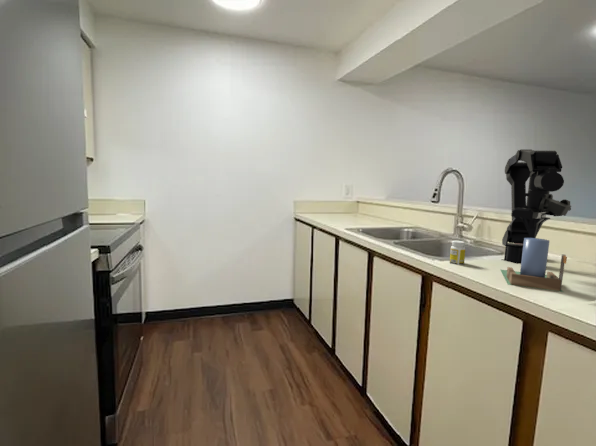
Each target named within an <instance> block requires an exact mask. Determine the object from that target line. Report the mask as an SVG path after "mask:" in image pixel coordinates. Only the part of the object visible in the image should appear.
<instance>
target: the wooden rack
mask: <svg viewBox="0 0 596 446" xmlns="http://www.w3.org/2000/svg"><path fill="white" fill-rule="evenodd" d="M567 259H568V256H566V254H561V258H560V267H559V273H558V274H559V275H558V276H557V275H556V274H555V273H554V272H552V271H546V273H547V274H546V275H547V278H545V277H536V276H528V275H520V274H516V273H515V271H516V270H514V269H513V267H511V266H510V267H509V266H508V267H507V269H506V270H507V278H508V280H509V282H510V284H511V285H510V286H514V285H517V286H516V287H521V286H524V287H523V288H529V287H532V288H531V289H536V288H540V289H539V290H544V289H547V290H546V291H551V290H555V291H554V292H559V291H561V290H562V287H563V286H562V284H563V278H564V270H565V265H566V264H567Z"/></svg>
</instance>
